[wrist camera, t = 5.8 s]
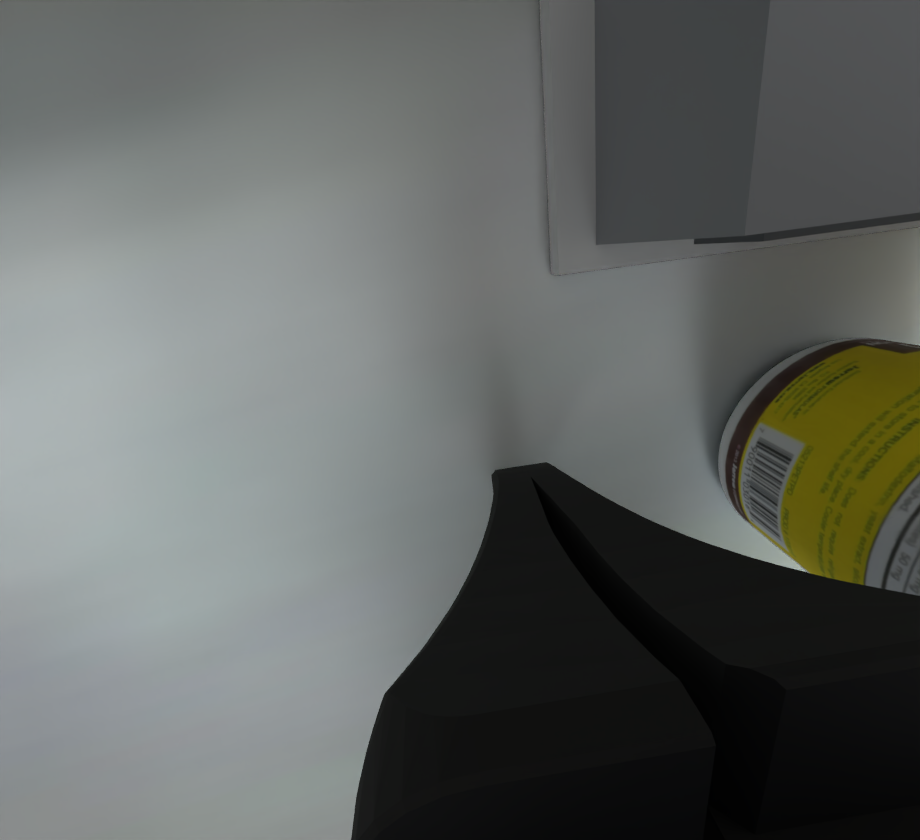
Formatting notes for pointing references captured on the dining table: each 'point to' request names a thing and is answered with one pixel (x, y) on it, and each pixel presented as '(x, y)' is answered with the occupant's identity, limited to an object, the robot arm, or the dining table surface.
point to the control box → (726, 125)
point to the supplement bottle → (833, 461)
